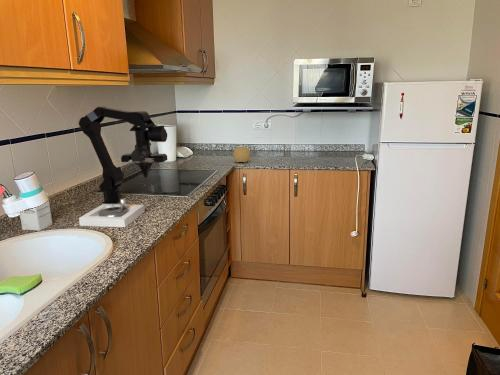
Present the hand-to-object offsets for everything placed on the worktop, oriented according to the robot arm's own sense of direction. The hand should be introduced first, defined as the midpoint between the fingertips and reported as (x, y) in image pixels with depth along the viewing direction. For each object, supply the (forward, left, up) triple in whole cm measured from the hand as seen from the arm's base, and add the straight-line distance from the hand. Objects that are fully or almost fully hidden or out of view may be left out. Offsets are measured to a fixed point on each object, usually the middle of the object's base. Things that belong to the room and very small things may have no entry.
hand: (146, 177), depth 164 cm
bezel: (-6, -20, -12) cm, 24 cm away
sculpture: (+26, +99, -12) cm, 103 cm away
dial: (-6, -20, -11) cm, 23 cm away
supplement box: (-30, -32, -12) cm, 46 cm away
